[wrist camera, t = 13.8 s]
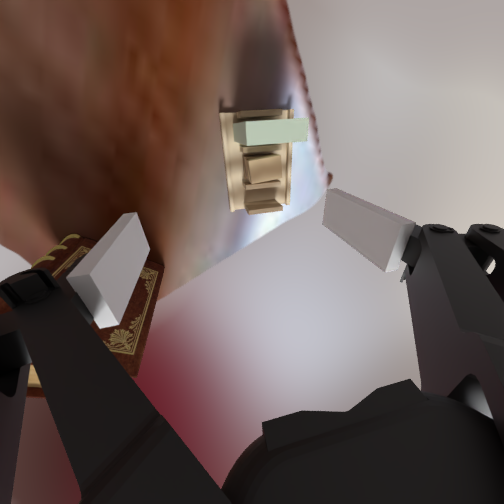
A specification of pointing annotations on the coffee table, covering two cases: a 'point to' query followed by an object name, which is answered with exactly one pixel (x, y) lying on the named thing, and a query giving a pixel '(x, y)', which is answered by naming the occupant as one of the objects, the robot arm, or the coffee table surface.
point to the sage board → (271, 131)
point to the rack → (239, 188)
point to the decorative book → (115, 337)
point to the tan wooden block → (245, 162)
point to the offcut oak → (264, 168)
